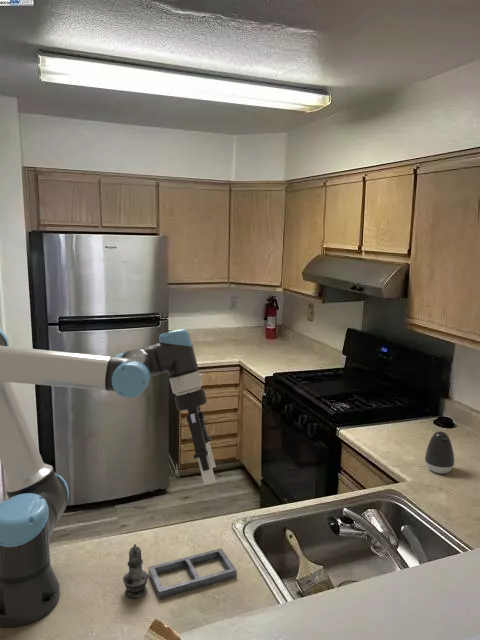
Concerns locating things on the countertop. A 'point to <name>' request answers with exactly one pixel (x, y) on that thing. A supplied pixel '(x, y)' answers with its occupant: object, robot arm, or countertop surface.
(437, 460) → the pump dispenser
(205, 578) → the grey flat rectangular frame
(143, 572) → the dark grey chess piece
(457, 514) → the countertop surface
